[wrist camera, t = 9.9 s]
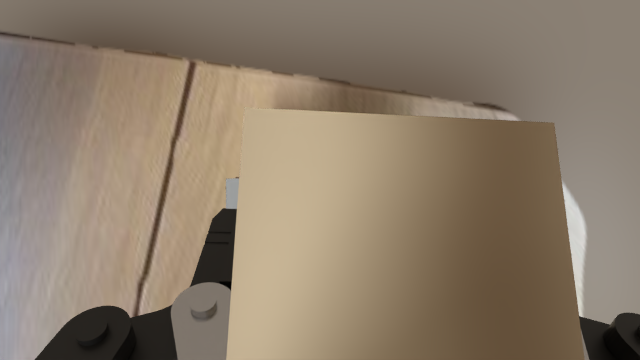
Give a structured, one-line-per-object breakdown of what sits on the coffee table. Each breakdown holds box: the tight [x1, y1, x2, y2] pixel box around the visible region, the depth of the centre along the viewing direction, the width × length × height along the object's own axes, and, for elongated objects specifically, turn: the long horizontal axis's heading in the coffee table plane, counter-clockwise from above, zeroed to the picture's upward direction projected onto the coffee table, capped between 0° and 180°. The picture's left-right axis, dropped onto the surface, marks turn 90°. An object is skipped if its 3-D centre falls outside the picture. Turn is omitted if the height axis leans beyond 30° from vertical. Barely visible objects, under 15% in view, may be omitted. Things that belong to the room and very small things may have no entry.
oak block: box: [226, 107, 585, 360], centre depth 11 cm, size 6×6×10 cm
